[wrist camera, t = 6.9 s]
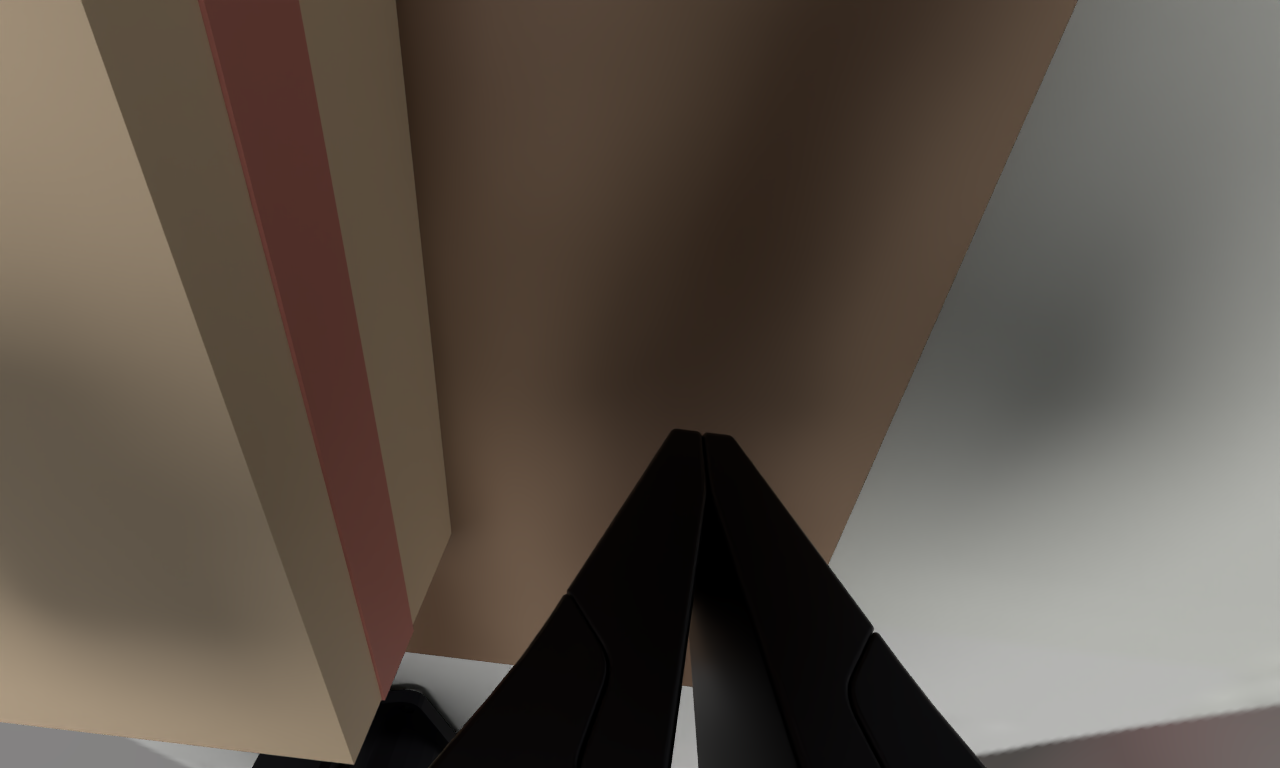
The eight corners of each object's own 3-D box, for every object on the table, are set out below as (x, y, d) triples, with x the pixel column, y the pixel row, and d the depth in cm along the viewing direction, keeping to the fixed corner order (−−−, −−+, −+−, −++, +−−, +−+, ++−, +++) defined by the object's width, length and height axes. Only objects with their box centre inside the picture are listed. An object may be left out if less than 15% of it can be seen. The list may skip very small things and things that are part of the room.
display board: (1309, -661, 6) (1816, -1179, 3) (765, 663, 18) (778, 772, 16) (-785, -959, 5) (-2042, -1753, 3) (133, 585, 18) (44, 684, 15)
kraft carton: (385, -139, 7) (-13, -290, 3) (453, 535, 14) (357, 766, 10) (-374, -242, 7) (-1802, -530, 3) (66, 487, 14) (-191, 700, 10)
